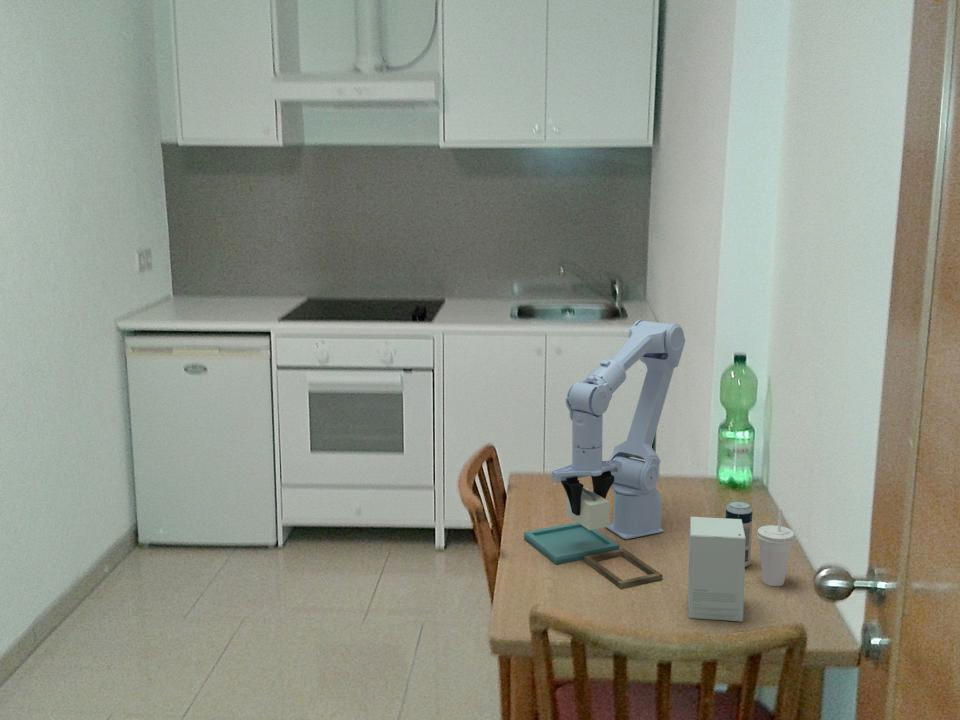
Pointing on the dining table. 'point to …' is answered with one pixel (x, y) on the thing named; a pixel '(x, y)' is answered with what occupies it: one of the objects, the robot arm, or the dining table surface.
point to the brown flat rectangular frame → (624, 553)
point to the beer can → (745, 513)
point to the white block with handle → (591, 510)
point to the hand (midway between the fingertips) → (586, 511)
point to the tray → (569, 542)
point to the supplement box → (716, 569)
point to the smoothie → (775, 551)
